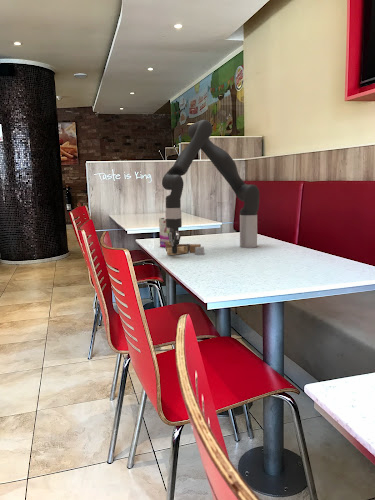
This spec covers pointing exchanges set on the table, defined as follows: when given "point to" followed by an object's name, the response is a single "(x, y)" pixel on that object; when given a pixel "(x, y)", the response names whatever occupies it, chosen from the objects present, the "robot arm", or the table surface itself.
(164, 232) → the candy bar box
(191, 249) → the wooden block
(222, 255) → the table surface
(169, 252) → the block
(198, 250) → the collar
